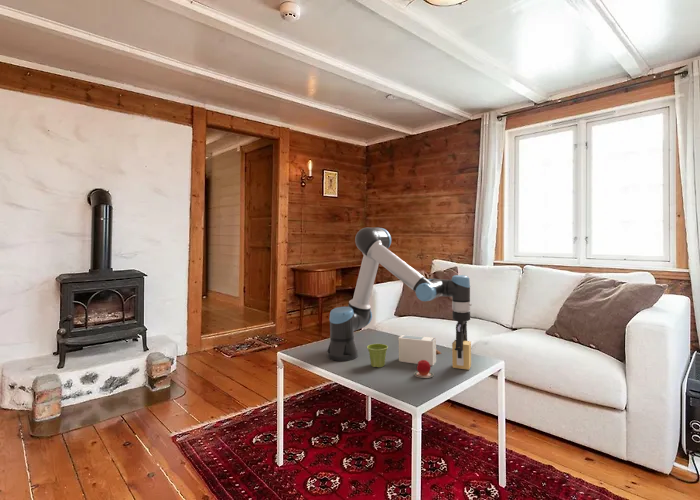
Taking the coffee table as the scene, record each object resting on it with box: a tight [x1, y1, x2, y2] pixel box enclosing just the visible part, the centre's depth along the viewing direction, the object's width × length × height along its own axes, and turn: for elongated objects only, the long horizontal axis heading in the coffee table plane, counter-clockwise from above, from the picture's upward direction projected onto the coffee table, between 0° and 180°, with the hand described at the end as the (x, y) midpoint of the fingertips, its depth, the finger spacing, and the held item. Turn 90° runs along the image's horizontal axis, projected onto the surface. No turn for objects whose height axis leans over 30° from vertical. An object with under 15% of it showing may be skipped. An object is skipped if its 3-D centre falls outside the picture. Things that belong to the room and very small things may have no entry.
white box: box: [398, 334, 437, 367], centre depth 174 cm, size 16×6×11 cm, turn 64°
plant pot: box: [366, 343, 389, 368], centre depth 169 cm, size 9×9×9 cm
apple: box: [413, 360, 435, 379], centre depth 156 cm, size 8×8×6 cm
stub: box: [451, 339, 472, 371], centre depth 165 cm, size 7×6×11 cm
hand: (461, 361), depth 165 cm, fingers open, 8 cm apart
